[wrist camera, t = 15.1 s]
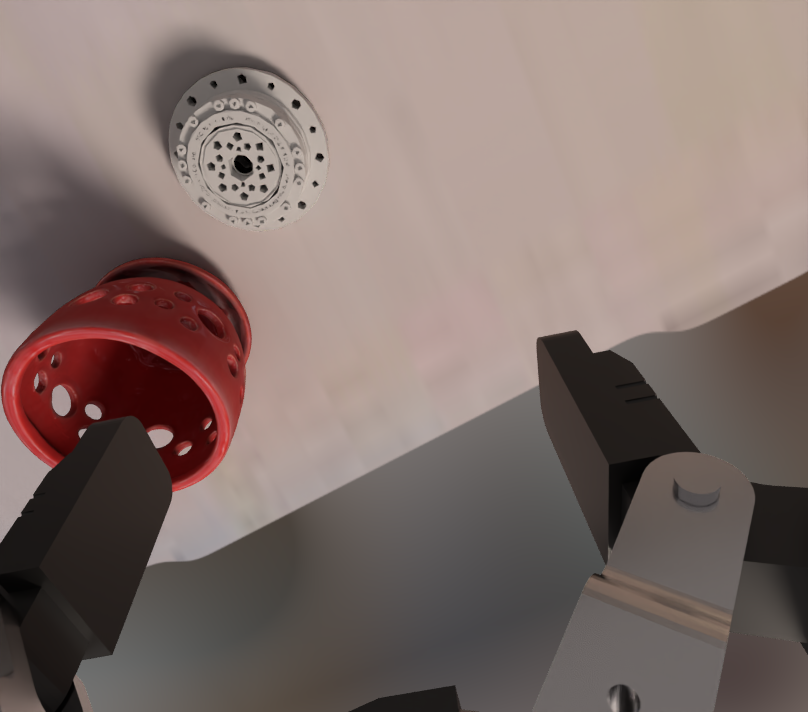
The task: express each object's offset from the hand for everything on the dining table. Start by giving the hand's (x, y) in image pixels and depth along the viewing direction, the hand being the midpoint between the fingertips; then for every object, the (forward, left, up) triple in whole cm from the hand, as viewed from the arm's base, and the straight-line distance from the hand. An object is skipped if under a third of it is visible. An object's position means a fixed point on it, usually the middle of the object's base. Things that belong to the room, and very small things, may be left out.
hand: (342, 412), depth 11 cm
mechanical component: (-7, 0, -30) cm, 31 cm away
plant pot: (-17, -11, -30) cm, 36 cm away
